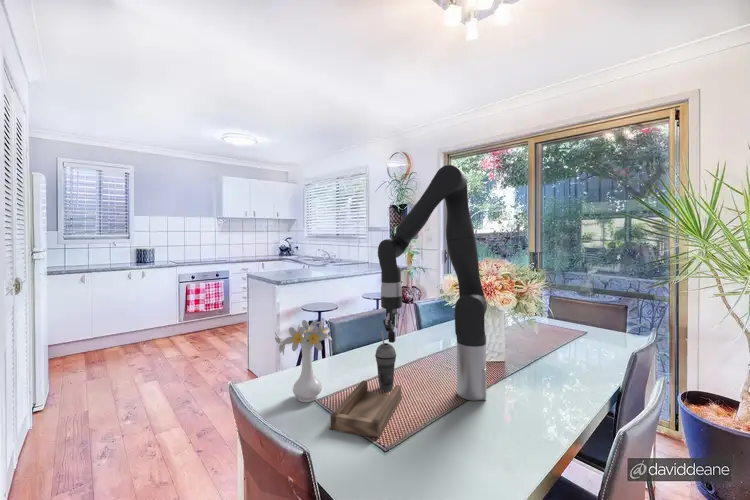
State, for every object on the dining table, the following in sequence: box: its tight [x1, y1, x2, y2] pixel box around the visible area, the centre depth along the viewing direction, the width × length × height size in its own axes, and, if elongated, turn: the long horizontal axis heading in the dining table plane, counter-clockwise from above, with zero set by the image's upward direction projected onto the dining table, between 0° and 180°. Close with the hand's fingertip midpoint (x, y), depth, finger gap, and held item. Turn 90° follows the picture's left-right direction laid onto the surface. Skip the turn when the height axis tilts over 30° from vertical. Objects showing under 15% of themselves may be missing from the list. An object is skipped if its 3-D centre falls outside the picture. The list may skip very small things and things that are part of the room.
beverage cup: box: [374, 330, 397, 392], centre depth 118 cm, size 7×7×20 cm
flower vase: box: [274, 319, 333, 403], centre depth 111 cm, size 13×18×25 cm
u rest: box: [329, 380, 403, 440], centre depth 102 cm, size 14×24×4 cm, turn 161°
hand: (392, 341), depth 125 cm, fingers closed
